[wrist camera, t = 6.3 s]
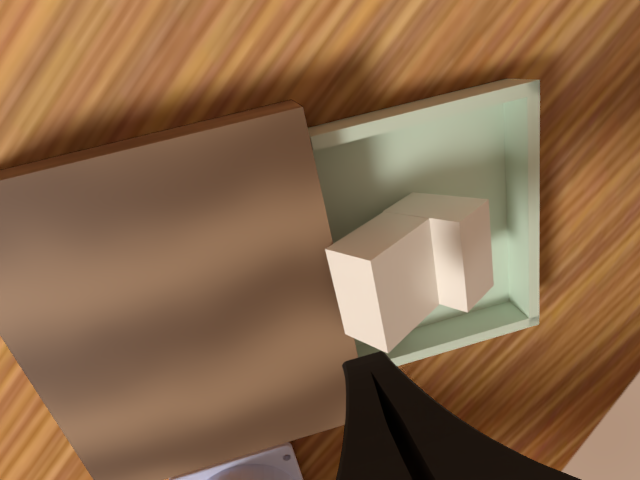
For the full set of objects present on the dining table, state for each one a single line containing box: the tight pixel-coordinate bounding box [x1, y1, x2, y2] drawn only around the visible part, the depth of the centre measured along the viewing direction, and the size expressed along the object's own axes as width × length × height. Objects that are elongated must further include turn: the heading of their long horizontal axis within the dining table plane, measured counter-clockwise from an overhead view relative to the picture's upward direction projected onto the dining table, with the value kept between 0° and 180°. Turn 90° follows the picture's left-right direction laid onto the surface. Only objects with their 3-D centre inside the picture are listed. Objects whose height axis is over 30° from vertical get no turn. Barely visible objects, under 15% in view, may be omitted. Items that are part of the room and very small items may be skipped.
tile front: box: [325, 212, 439, 353], centre depth 19 cm, size 4×4×2 cm
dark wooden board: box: [0, 100, 358, 480], centre depth 20 cm, size 16×14×4 cm
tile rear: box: [382, 192, 494, 313], centre depth 20 cm, size 4×4×2 cm
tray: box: [308, 78, 540, 366], centre depth 22 cm, size 13×10×2 cm
